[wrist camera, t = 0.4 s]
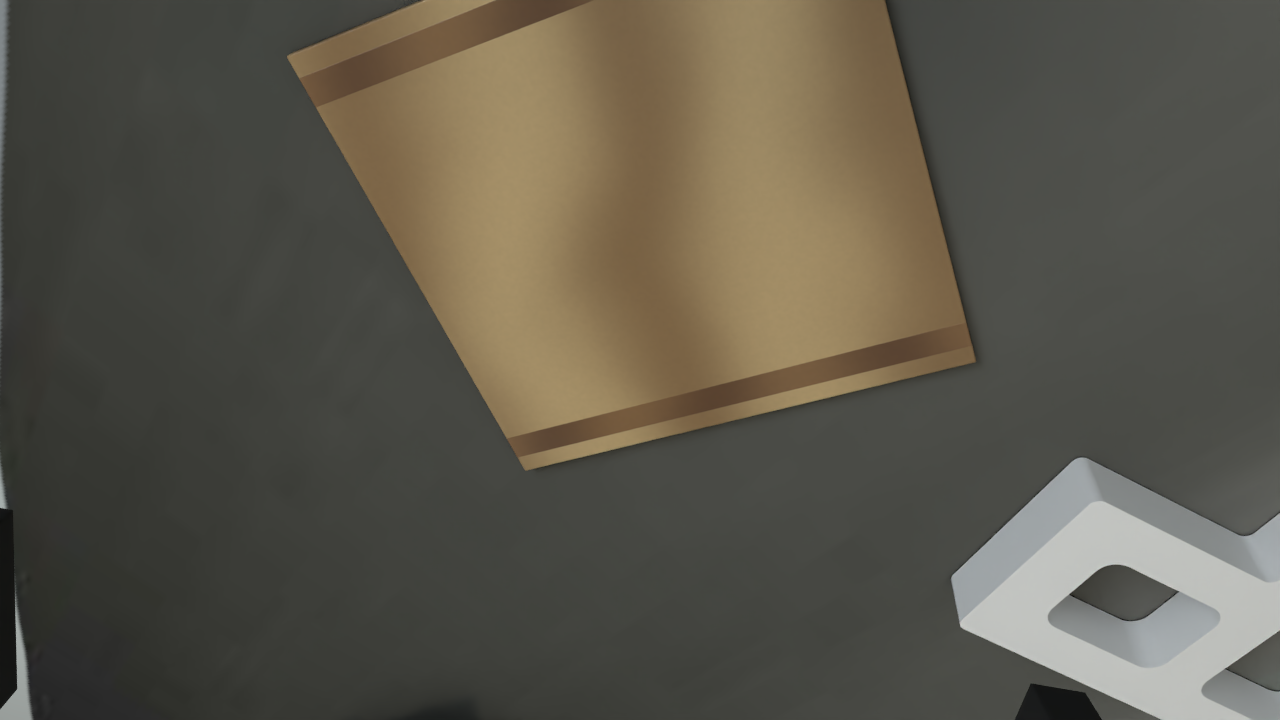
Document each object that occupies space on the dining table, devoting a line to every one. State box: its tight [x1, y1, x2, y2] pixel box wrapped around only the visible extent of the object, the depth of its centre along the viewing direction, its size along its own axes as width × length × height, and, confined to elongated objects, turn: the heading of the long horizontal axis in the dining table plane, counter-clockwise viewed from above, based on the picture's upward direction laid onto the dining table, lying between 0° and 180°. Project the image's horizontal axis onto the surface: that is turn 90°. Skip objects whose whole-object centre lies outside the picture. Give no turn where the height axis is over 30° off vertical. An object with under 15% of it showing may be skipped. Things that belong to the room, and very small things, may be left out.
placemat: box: [287, 0, 976, 470], centre depth 38 cm, size 20×20×1 cm
